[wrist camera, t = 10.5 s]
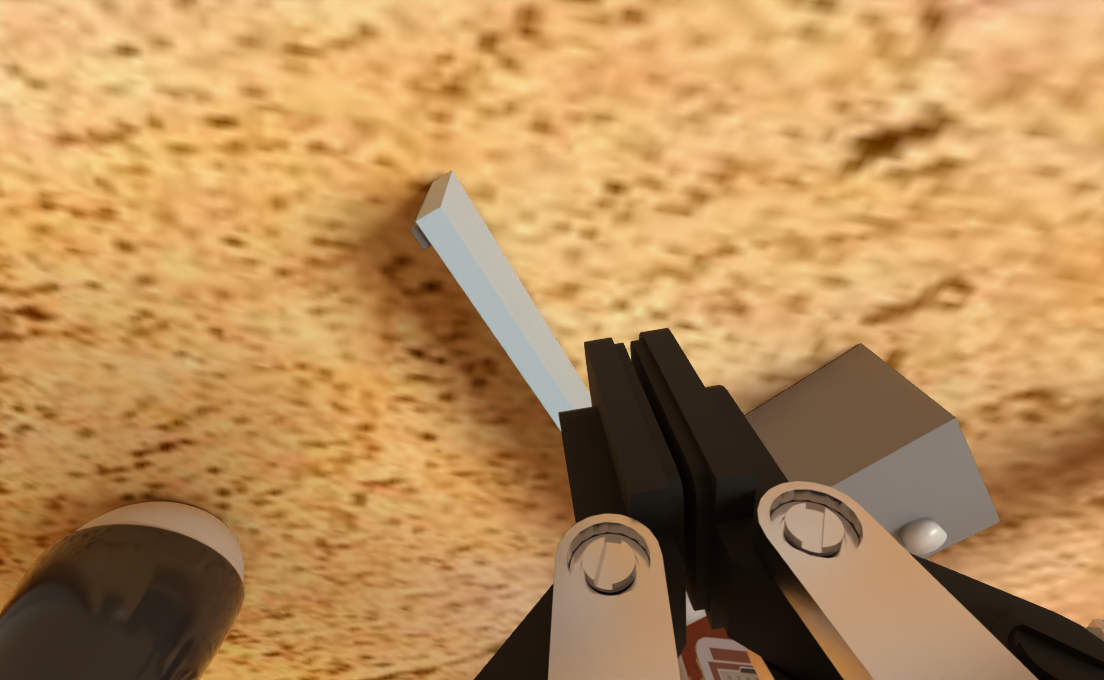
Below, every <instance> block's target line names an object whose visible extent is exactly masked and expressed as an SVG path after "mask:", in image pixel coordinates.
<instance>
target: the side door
mask: <svg viewBox="0 0 1104 680" xmlns="http://www.w3.org/2000/svg"><path fill="white" fill-rule="evenodd" d="M410 231H411V232H412V234H413V235H414V237H415V238H416V240H417V241H418V242H419V244H420V245H421V247H422V248H423V249H426V248H427V247H429V246H431V245H432V246H433V247H434V249H435V250H436V252H437V253H438V255H439V256H440V257H441V259H442V260H443V262H444V263H445V265H446V266H447V268H448V269H449V270H450V272H451V273H452V275H453V276H454V278H455V279H456V281H457V282H458V283H459V285H460V286H461V288H462V289H463V291H464V292H465V294H466V295H467V296H468V298H469V299H470V301H471V302H472V304H473V305H474V307H475V308H476V309H477V311H478V312H479V314H480V315H481V317H482V318H483V320H484V321H485V322H486V324H487V325H488V327H489V328H490V330H491V331H492V333H493V334H494V335H495V337H496V338H497V340H498V341H499V343H500V344H501V346H502V347H503V348H504V350H505V351H506V353H507V354H508V356H509V357H510V359H511V360H512V361H513V363H514V364H515V366H516V367H517V369H518V370H519V372H520V373H521V374H522V376H523V377H524V379H525V380H526V382H527V383H528V385H529V386H530V387H531V389H532V390H533V392H534V393H535V395H536V396H537V398H538V399H539V400H540V402H541V403H542V405H543V406H544V408H545V409H546V411H547V412H548V413H549V415H550V416H551V418H552V419H553V421H554V422H555V424H556V425H557V426H558V428H559V429H560V431H561V427H560V421H559V415H558V412H563V411H569V410H575V409H581V408H587V407H592V404H591V396H590V393H589V392H588V390H587V388H586V387H585V385H584V383H583V382H582V380H581V379H580V377H579V375H578V374H577V372H576V370H575V369H574V367H573V366H572V364H571V362H570V361H569V359H568V357H567V356H566V354H565V353H564V351H563V349H562V348H561V346H560V344H559V343H558V341H557V340H556V338H555V336H554V335H553V333H552V331H551V330H550V328H549V327H548V325H547V323H546V322H545V320H544V318H543V317H542V315H541V314H540V312H539V310H538V309H537V307H536V305H535V304H534V302H533V301H532V299H531V297H530V296H529V294H528V292H527V291H526V289H525V288H524V286H523V284H522V283H521V281H520V279H519V278H518V276H517V275H516V273H515V271H514V270H513V268H512V266H511V265H510V263H509V262H508V260H507V258H506V257H505V255H504V253H503V252H502V250H501V249H500V247H499V245H498V244H497V242H496V240H495V239H494V237H493V236H492V234H491V232H490V231H489V229H488V227H487V226H486V224H485V223H484V221H483V219H482V218H481V216H480V214H479V213H478V211H477V210H476V208H475V206H474V205H473V203H472V201H471V200H470V198H469V197H468V195H467V193H466V192H465V190H464V188H463V187H462V185H461V184H460V182H459V180H458V179H457V177H456V175H455V174H454V172H453V171H450V172H449V173H447V174H445V175H443V176H442V177H440V178H438V179H437V180H435V181H433V183H432V185H431V187H430V190H429V191H427V193H426V196H425V198H424V200H423V202H422V205H421V207H420V209H419V211H418V214H417V216H416V218H415V220H414V223H413V225H412V227H411V229H410Z"/></svg>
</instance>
